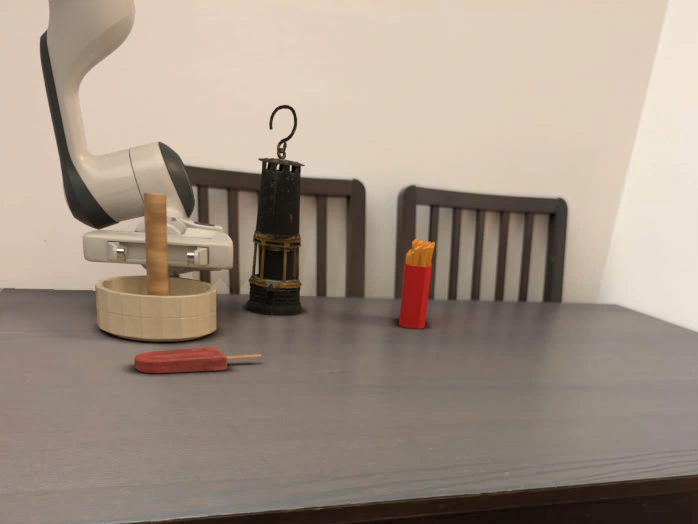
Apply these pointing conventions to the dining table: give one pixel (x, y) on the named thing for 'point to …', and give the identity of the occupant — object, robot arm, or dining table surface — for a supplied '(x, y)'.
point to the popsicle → (185, 360)
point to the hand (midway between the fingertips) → (155, 257)
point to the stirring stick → (156, 243)
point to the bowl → (156, 309)
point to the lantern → (277, 234)
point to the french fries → (416, 284)
